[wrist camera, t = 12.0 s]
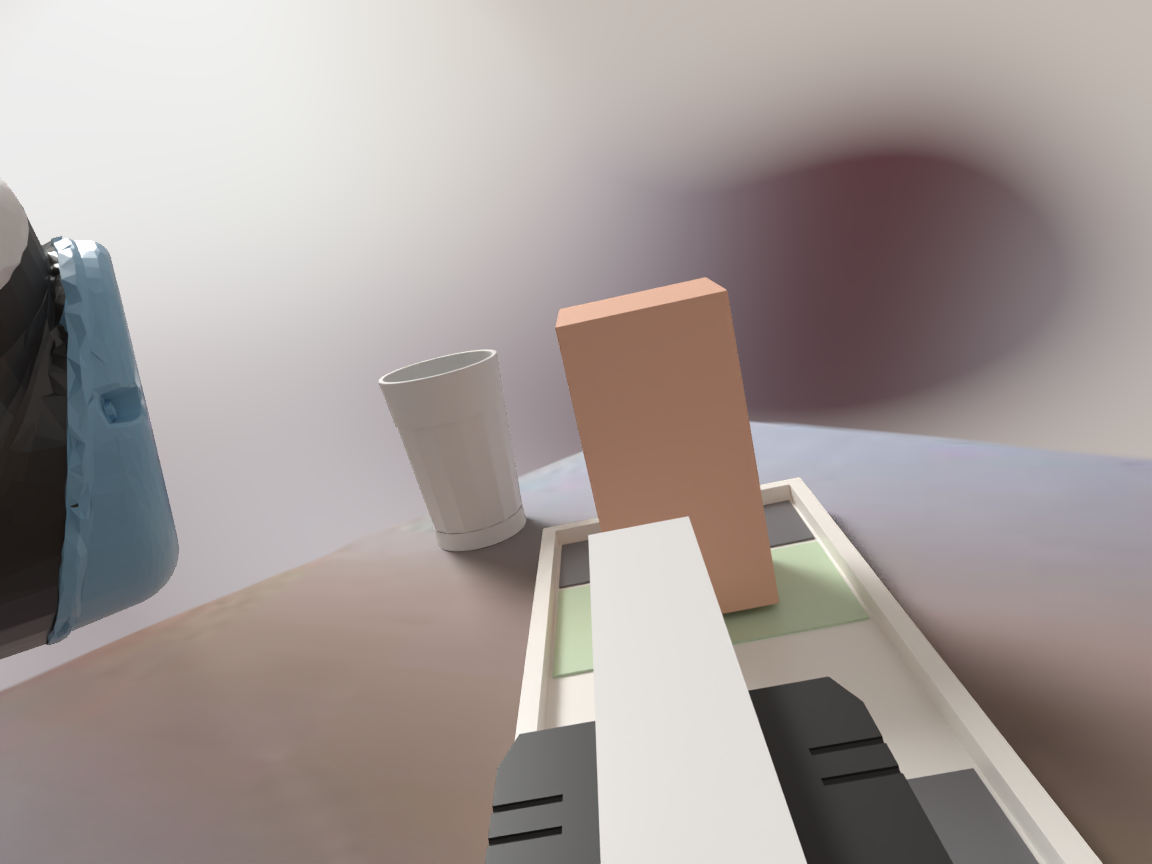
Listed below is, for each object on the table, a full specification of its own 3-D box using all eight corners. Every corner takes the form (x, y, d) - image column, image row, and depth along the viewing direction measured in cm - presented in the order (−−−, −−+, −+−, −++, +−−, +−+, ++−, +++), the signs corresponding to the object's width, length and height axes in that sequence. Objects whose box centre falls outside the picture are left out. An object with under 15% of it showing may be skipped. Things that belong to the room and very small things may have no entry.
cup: (407, 542, 58) (359, 381, 55) (499, 501, 62) (459, 349, 59) (461, 566, 52) (411, 385, 48) (560, 518, 56) (519, 349, 53)
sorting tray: (492, 1131, 19) (471, 1068, 18) (550, 558, 50) (543, 528, 49) (1179, 1028, 18) (1177, 959, 17) (804, 507, 49) (799, 477, 48)
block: (624, 632, 36) (555, 327, 33) (618, 573, 42) (559, 309, 39) (779, 603, 36) (727, 290, 32) (752, 548, 42) (705, 277, 38)
